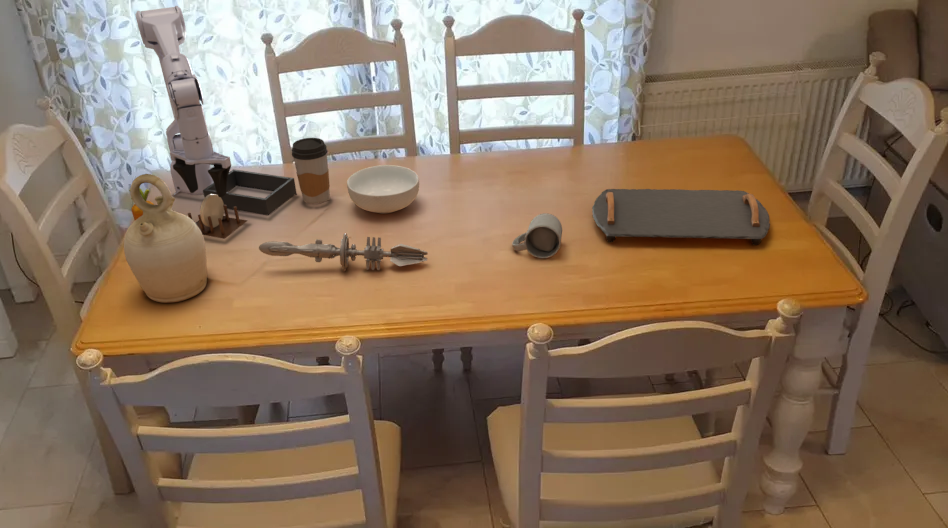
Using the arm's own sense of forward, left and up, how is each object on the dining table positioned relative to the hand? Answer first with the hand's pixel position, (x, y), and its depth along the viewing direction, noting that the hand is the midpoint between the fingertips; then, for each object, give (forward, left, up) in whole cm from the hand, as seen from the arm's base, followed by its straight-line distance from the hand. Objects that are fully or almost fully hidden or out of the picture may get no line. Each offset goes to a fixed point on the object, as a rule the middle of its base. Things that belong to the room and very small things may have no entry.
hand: (208, 193), depth 190 cm
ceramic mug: (+73, +14, -10) cm, 75 cm away
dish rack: (0, 0, -9) cm, 9 cm away
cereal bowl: (+32, +23, -10) cm, 41 cm away
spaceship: (+37, -6, -10) cm, 39 cm away
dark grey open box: (0, +15, -9) cm, 17 cm away
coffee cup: (+15, +20, -10) cm, 27 cm away
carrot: (-8, -12, -10) cm, 17 cm away
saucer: (0, 0, -8) cm, 8 cm away
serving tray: (+99, +36, -10) cm, 106 cm away
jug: (+7, -24, -10) cm, 27 cm away
